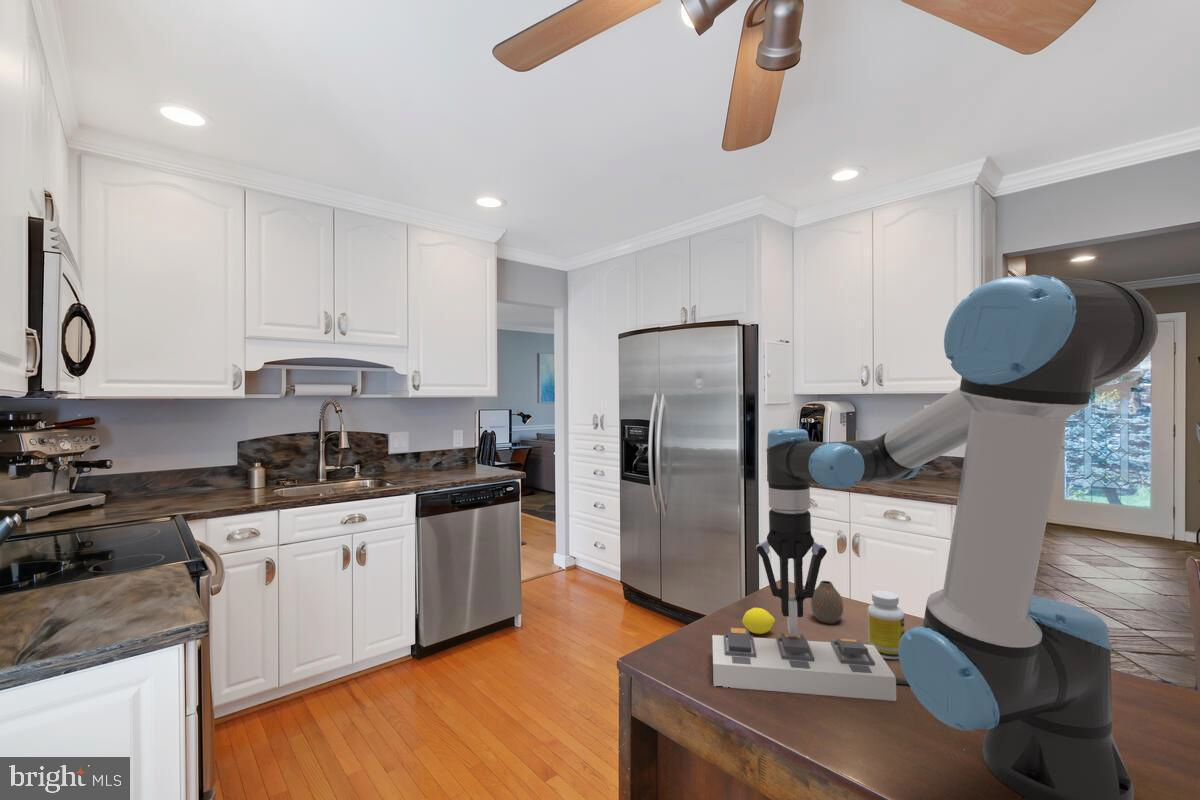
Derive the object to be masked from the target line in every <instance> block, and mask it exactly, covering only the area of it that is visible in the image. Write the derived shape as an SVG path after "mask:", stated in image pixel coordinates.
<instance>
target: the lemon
mask: <svg viewBox="0 0 1200 800" xmlns="http://www.w3.org/2000/svg"><path fill="white" fill-rule="evenodd" d="M741 622H742V624H743V626H744V628H748V629H749V633H750V632H751V633H752V634H756V635H763V634H766V633H769V631H770V630H771V629H772V627H773V626H774V624H775V622H776V619H775V618H774V617H773V615H771V613H770V612H769V611H768V610H765V609H764V608H760V607H752V608H751V609H748V610H747V611H745V613H744V615H743V617H742V620H741Z"/></svg>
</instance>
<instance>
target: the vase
mask: <svg viewBox="0 0 1200 800" xmlns="http://www.w3.org/2000/svg"><path fill="white" fill-rule="evenodd" d="M810 608H811V612H812V615H813V616H814V617H815V618H816V620H818V621H819V622H821V623H823V624H829V625H830V624H832V625H833V624H836V623H837V622H839V621H840V620H841V619H842V616H843V614H844V602H843V598H842V596H841V594H840V593H839V592H838V590H837V589H836V588H835V587H834V585H833V583H832V581H829V580H821V581H820V583H819V584H818V585H817V587H815V590H814V594H813V597H812V598H810Z"/></svg>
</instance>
